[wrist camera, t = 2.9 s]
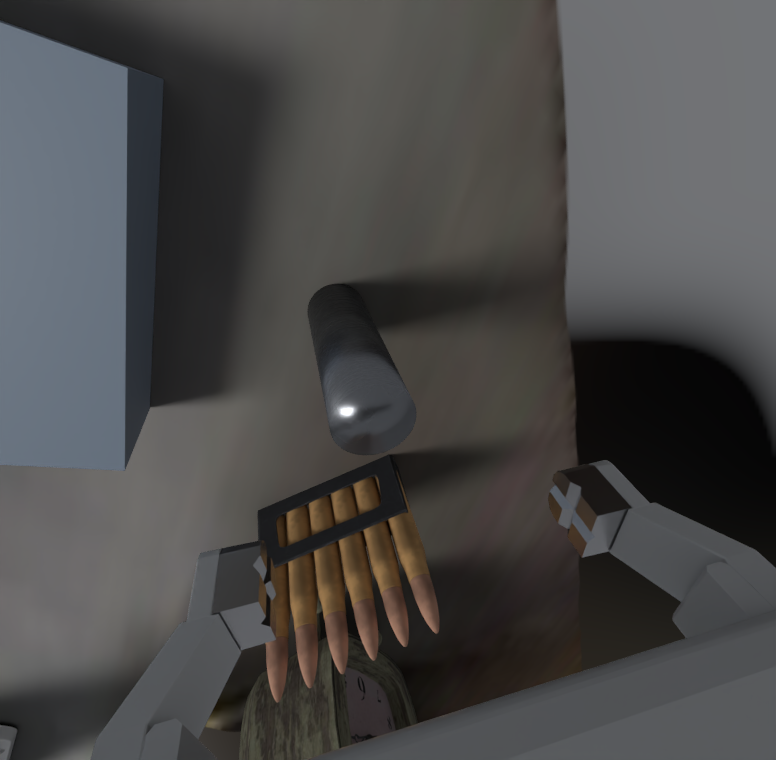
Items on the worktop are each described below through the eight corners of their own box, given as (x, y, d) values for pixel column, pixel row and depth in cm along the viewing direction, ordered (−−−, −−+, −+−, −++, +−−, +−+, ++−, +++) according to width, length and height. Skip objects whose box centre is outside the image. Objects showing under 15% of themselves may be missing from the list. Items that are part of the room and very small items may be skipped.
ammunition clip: (391, 453, 30) (450, 618, 20) (398, 469, 31) (458, 632, 21) (257, 510, 30) (251, 704, 20) (269, 524, 31) (269, 714, 21)
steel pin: (356, 341, 24) (400, 457, 16) (302, 331, 23) (320, 451, 15) (371, 291, 23) (428, 391, 15) (314, 277, 21) (342, 379, 13)
